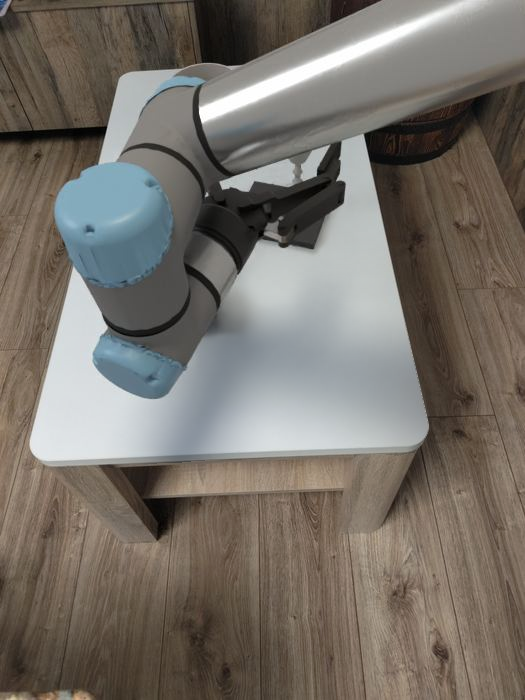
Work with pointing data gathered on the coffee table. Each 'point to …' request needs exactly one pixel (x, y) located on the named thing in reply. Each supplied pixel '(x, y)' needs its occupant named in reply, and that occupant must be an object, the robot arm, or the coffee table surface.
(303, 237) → the scale
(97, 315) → the coffee table surface
